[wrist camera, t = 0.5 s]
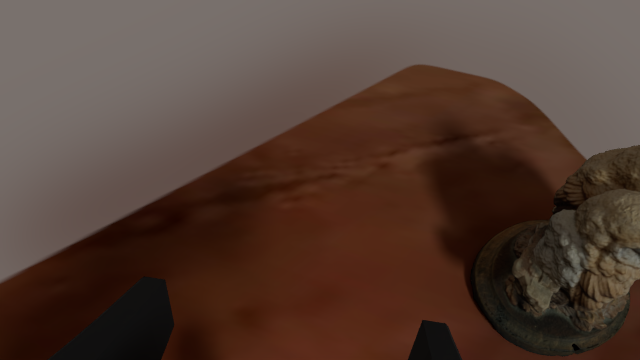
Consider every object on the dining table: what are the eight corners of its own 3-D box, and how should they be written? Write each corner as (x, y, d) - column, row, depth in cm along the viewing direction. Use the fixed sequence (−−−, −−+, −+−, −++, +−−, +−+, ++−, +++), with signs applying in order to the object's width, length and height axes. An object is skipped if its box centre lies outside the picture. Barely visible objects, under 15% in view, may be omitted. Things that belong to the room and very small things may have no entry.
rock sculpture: (527, 400, 30) (769, 329, 16) (432, 267, 35) (555, 134, 22) (650, 303, 37) (884, 200, 24) (556, 206, 43) (703, 79, 29)
